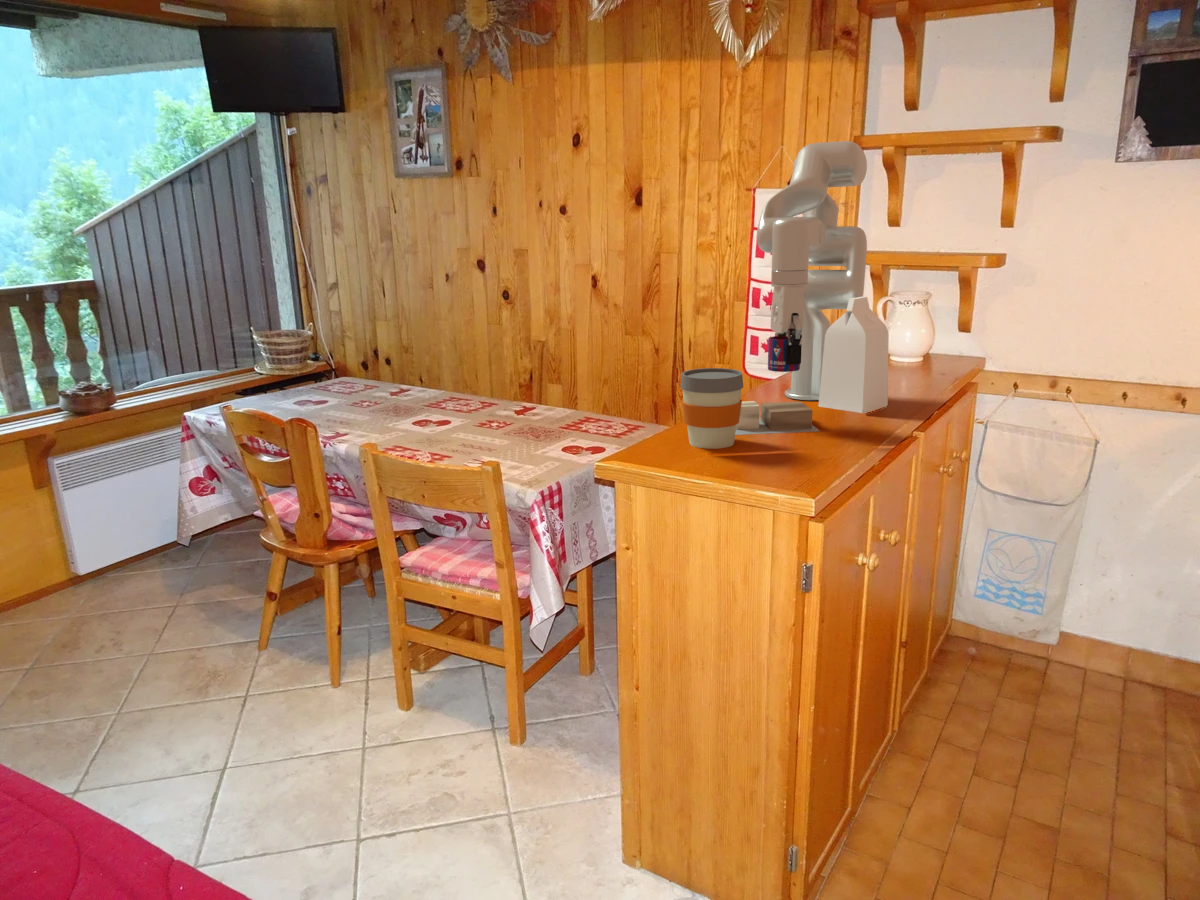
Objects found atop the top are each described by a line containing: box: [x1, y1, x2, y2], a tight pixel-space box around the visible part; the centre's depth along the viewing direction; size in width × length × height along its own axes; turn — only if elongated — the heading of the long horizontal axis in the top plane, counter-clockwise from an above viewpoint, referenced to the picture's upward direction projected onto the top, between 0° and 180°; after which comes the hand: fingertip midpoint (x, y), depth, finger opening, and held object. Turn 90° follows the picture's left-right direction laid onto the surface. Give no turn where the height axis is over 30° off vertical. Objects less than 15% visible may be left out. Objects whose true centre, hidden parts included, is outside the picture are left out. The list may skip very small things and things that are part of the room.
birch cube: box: [736, 400, 760, 429], centre depth 185 cm, size 5×5×5 cm
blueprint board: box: [735, 417, 820, 436], centre depth 186 cm, size 14×18×1 cm
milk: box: [818, 296, 890, 414], centre depth 199 cm, size 12×12×26 cm
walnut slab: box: [760, 401, 813, 430], centre depth 185 cm, size 9×9×4 cm
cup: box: [767, 335, 800, 373], centre depth 182 cm, size 7×10×7 cm
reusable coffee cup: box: [680, 367, 744, 450], centre depth 171 cm, size 13×13×15 cm
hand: (787, 360), depth 182 cm, fingers closed on cup, 8 cm apart
